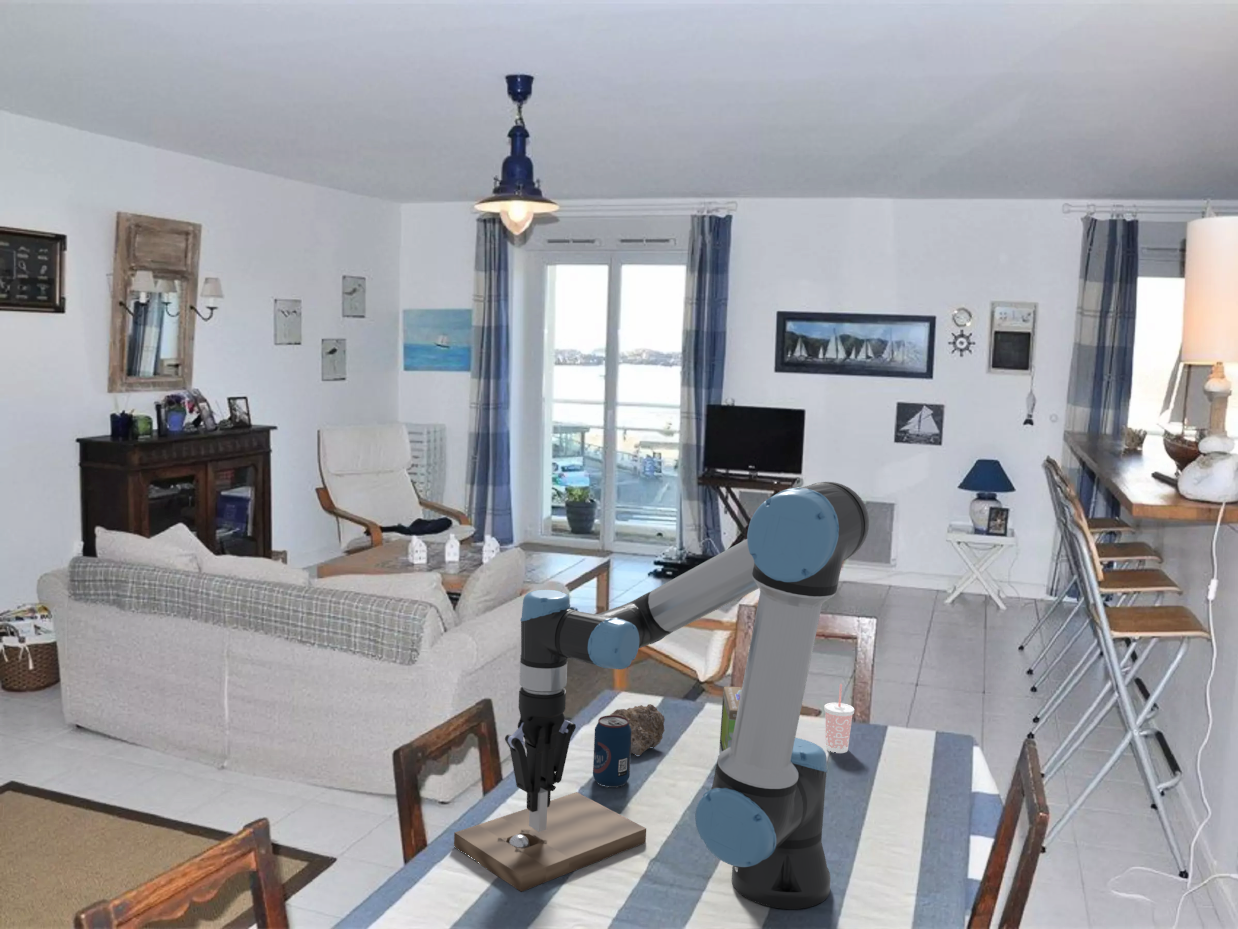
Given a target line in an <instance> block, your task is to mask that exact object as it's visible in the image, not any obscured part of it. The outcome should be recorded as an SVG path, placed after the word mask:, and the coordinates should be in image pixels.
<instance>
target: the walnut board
mask: <svg viewBox="0 0 1238 929" xmlns="http://www.w3.org/2000/svg"><path fill="white" fill-rule="evenodd" d="M453 833H454V835H453V847H454V846H455V847H456V848H457V849H456V848H455V847H454V848H455V849H456V850H458V849H459V850H460V851H459V850H458V851H459V852H461V851H462V852H464V853H466V854H467V855H469V856H470V857H472V858H473V859H475V860H476V861H477V862H479V863H480V864H481V865H480V864H479V863H478V864H479V865H480V866H481V867H483V866H484V867H483V868H485V869H486V868H487V869H486V870H488V871H489V872H491V873H492V874H494V875H495V876H497V877H498V878H499V879H501V880H503V881H504V882H506V883H507V884H509V885H510V886H512V887H513V888H515V889H516V890H518V891H519V892H521V893H522V892H524V891H527V890H530V889H532V888H534V887H537V886H541V884H542V885H543V884H545V883H547V882H550V881H552V880H554V879H557V878H559V877H562V876H565V875H567V874H570V873H573V872H575V871H577V870H581V869H582V868H585V867H588V866H590V865H593V864H595V863H598V862H600V861H603V860H605V859H608V858H611V857H612V856H616V855H619V854H621V853H623V852H626V851H629V850H631V849H633V848H636V847H638V846H640V845H643V844H645V843H646V840H647V828H646V827H644V826H642V825H640V824H638V822H636V821H633V820H631V819H629V818H627V817H625V816H623V815H622V814H619V813H618V812H617V811H614V810H613V809H610V808H608V807H606V806H604V805H602V804H600V803H599V802H597V801H594V800H593V799H591V798H589V797H587V796H584V795H583V794H581V793H580V792H578V791H575V792H573V793H570V794H566V795H563V796H560V797H558V798H554V799H552V800H551V799H550V805H549V807H547V825H546V830H543V831H540V832H538V831H537V830H535V829H533V828H532V827H530V826H529V810H528V809H527V808H524V809H521V810H518V811H515V812H513V813H509V814H507V815H503V816H500V817H498V818H494V819H492V820H491V819H490V820H488V821H484V822H482V823H479V824H477V825H473V826H470V827H466V828H464V829H461V830H458V831H455V832H453ZM517 834H521V835H524V836H526V837H527V839H528V840H529V843H530V847H527V848H515V847H514V846H512V845H510V844H509V843H508V842H509V840H510V839H511V838H512V837H513V836H514V835H517ZM462 852H461V853H462ZM464 853H463V854H464ZM467 855H466V856H467ZM470 857H469V858H470ZM473 859H472V860H473ZM476 861H475V862H476ZM477 862H476V863H477Z"/></svg>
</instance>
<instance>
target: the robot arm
mask: <svg viewBox="0 0 1238 929" xmlns="http://www.w3.org/2000/svg"><path fill="white" fill-rule="evenodd" d="M751 516H752V517H751V519H750V521H749V524H748V529H747V534H746V539H743V540H742V541H741V542H739V543H737V544H735V545H733V546H731V547H729V548H728V549H726V550H724V551H723V552H720V553H718V554H717V555H715V556H713V557H711V558H708V559H707V560H705V561H704V562H702V563H700V564H699V565H695V567H693V568H691V569H689V570H687V571H685V572H684V573H682V574H680V575H678V576H676V577H675V578H674V577H673V579H671V580H669V581H667V582H665V583H664V584H661V585H659V586H658V587H656V588H655V589H652V590H651V591H649V592H647V593H645V594H642V595H640V596H639V597H637V598H635V599H634V600H633V599H632V601H630V602H627V603H625V604H622V605H620V606H616V607H613V608H611V609H608V610H605V611H602V612H599V613H590V612H584V611H579V610H575V609H572V608H571V603H570V602H571V601H570V597H569V595H568V594H567V593H564V592H563V591H560V590H554V589H537V590H533V591H529V592H528V593H526V594H525V595H524V597H523V599H522V600H523V601H522V610H521V617H520V641H521V642H520V650H521V651H520V660H519V686H520V688H519V689H518V711H519V714H520V718H519V721H518V723H517V729H516V731H514V732H513V734H506V735H505V738H504V741H505V743H506V744H507V746H508V747H509V752H510V756H511V762H512V768H513V774H514V779H515V784H516V785H515V786H516V787H517V788H518V789H520V790H522V791H523V792H525V793H526V809H528V810H529V826H530V827H532V828H533V829H535V830H537V831H538V832H540V831H543V830H546V825H547V807H549V805H550V801H551V794H552V793H551V792H554V791H555V789H556V786H555V784H559V783H561V781H562V780H563V779H562V778H563V774H564V769H565V767H566V766H565V764H566V760H567V755H568V751H569V747H570V742H571V739H572V738H571V737H572V736H573V734H574V732H575V731H576V728H577V726H576V724H575V723H574V722H572V721H569V720H567V719H565V717H566V716H565V714H564V713H565V711H566V704H567V702H566V700H567V690H566V688H565V687H567V682H568V681H567V680H568V679H567V678H568V677H567V676H568V659H570V660H575V661H578V662H581V663H585V664H590V665H594V666H597V667H600V668H603V669H613V670H625V669H627V668H628V667H630V666H631V664H632V661H634V660H635V659H636V658H637V655H638V652H639V649H641V648H643V647H646V646H649V645H652V644H655V643H657V642H659V641H661V640H663V639H665V637H666V636H669V635H670V634H671V633H673V632H675V631H677V630H679V629H681V628H684V627H685V626H687V625H690V624H691V623H694V622H696V621H697V620H699V619H701V618H703V617H706V616H707V615H709V614H712V613H714V612H715V611H717V610H719V609H721V608H724V607H725V606H727V605H729V604H731V603H733V602H735V601H737V600H739V599H741V598H743V597H745V596H746V595H749V594H750V593H753V592H755V591H757V590H758V589H759V596H758V602H757V606H756V612H755V618H754V623H753V627H752V628H753V629H752V634H751V639H750V643H749V649H748V654H747V660H746V665H745V670H744V676H743V681H742V685H741V687H742V690H741V695H740V701H739V706H738V711H737V716H736V722H735V727H734V732H733V737H732V743H731V747H729V748H727V749H726V750H724V751H722V752H721V753H720V754H719V753H718V756H717V761H716V766H715V769H714V775H713V781H712V784H711V785H712V786H711V788H710V789H709V790H708V791H706V792H704V794H703V795H702V797H701V798H700V800H699V801H698V803H697V806H696V809H695V812H694V813H695V814H694V815H695V819H694V820H695V826H696V827H695V828H696V830H697V833H698V835H699V837H700V839H701V840H702V841H703V842H704V844H705V847H706V848H707V849H708V851H709V852H710V853H711V854H712V855H714V856H715V858H717V859H719V860H720V861H722V862H724V863H725V864H727V865H730V866H732V870H731V883H732V885H733V887H734V889H735V890H736V891H737V892H738V893H739V894H740V895H742V896H743V897H745V898H746V899H748V900H749V901H752V902H755V903H757V904H760V905H762V906H765V907H771V908H776V909H782V910H783V909H784V910H798V909H806V908H812V907H815V906H817V905H819V904H821V903H823V902H824V901H826V899H828V896H829V895H830V892H831V874H830V870H829V868H828V864H827V859H826V856H825V854H826V853H825V850H824V847H823V840H822V836H823V824H824V823H823V822H824V809H825V808H824V807H825V796H826V784H827V783H826V782H827V773H828V772H829V769H828V768H827V754H826V751H825V750H824V749H823V748H822V747H821V746H820V745H818V744H817V743H814V742H813V741H809V740H806V739H802V738H799V737H796V736H797V730H798V726H799V720H800V717H801V716H800V715H801V711H802V707H803V701H804V695H805V691H806V686H807V681H808V676H809V670H810V666H811V661H812V656H813V651H814V647H815V646H814V645H815V641H816V637H817V633H818V632H817V631H818V627H819V621H820V617H821V612H822V605H823V604H824V603H825V602H827V601H828V600H829V599H831V598H833V597H835V595H836V594H837V590H838V585H839V580H840V575H841V570H842V566H843V561H845V560H847V559H849V558H851V557H852V556H853V555H855V554H856V553H857V552H858V551H859V550H860V549H861V548H862V546H863V545H864V544H865V541H866V539H867V536H868V535H869V529H870V517H869V512H868V509H867V506H866V504H865V503H864V501H863V500H862V498H861V497H860V496H859V494H858V493H857V492H856V491H854V490H853V489H851V488H850V487H848V486H847V485H844V484H842V483H839V482H836V481H835V482H834V481H821V482H816V483H812V484H809V485H806V486H802V487H798V486H797V487H791V488H787V489H783V490H781V491H779V492H777V493H776V494H773V495H772V496H770V497H769V498H767V499H766V500H765V501H763V502H762V503H761V504H760V505H758V507H757V508H756V510H755V511H754V513H753V515H751ZM525 749H526V750H525Z"/></svg>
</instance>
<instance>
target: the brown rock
mask: <svg viewBox="0 0 1238 929" xmlns="http://www.w3.org/2000/svg"><path fill="white" fill-rule="evenodd" d="M610 715H616V716H622V717H625V718H627V719H628V721H629V725H630V727H631V730H632V731H631V754H632V753H633V754H636V755H642V754H643V753H644V752H645V751H647V750H648V749H651V748H650V747H655V748H656V747H657V746H658V745H659V744H660V743H661V741H662V739H663V734H664V733H665V725H664V724H665V720H666V719H665V716H664V715H663V714H662V712H660V710H658V709H657V707H656V706H654V704H647V706H644V705H641V704H640V705H637V706H636V705H634V707H628V708H627V709H625V708H620V709H616V710H614V711H613V712H612V713H610ZM633 754H632V755H633Z"/></svg>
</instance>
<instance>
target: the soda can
mask: <svg viewBox="0 0 1238 929" xmlns="http://www.w3.org/2000/svg"><path fill="white" fill-rule="evenodd" d="M631 731H632V730H631V727H630V725H629V721H628V719H627V718H625V717H622V716H616V715H603V716H601V717H599V718H598V721H597V724H596V726H595V727H594V738H593V739H594V740H593V741H594V742H593V764H592V765H593V766H592V776H593V779H594V781H595V782H596V784H597V783H599V784H601V785H605V786H609V787H616V788H618V787H617V786H621V785H623V786H624V785H626V783H627V782H628V780H629V778H630V777H631V776H630V775H631V773H630V772H631V754H632V753H631ZM599 784H598V785H599ZM601 785H600V786H601ZM621 787H622V786H621Z"/></svg>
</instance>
